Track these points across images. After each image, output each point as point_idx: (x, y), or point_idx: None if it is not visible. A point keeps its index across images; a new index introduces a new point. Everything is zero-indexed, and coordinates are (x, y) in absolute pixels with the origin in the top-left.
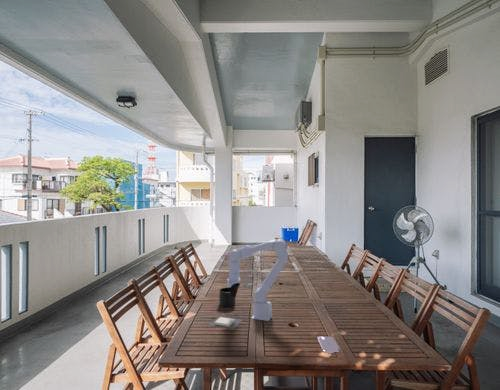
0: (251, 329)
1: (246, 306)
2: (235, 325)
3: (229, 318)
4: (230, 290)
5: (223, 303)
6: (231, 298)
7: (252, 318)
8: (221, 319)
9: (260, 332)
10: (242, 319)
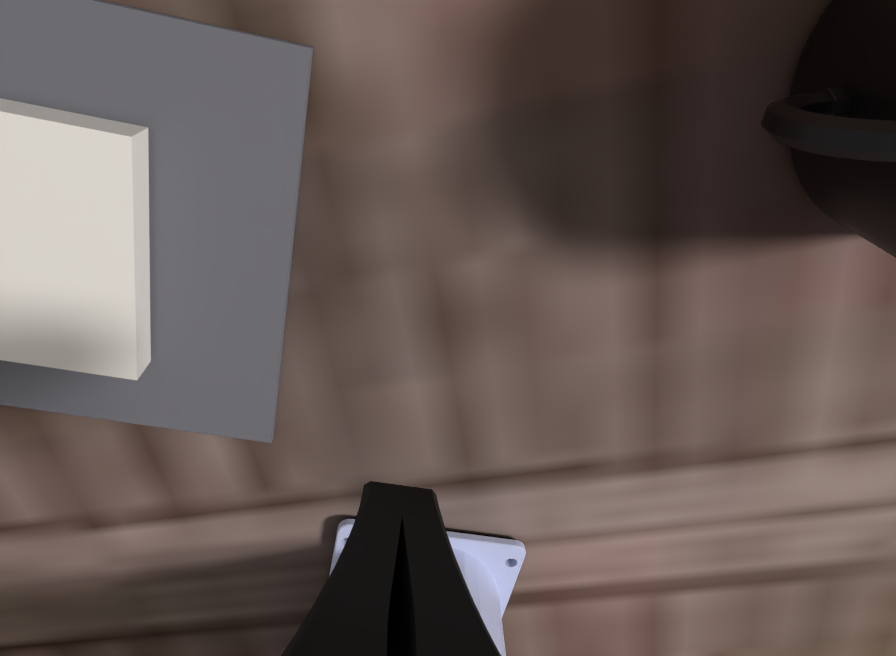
0: (41, 551)
1: (810, 403)
2: (31, 391)
3: (130, 305)
4: (295, 648)
5: (854, 38)
6: None
7: (337, 534)
8: (27, 183)
9: (12, 626)
10: (270, 438)
